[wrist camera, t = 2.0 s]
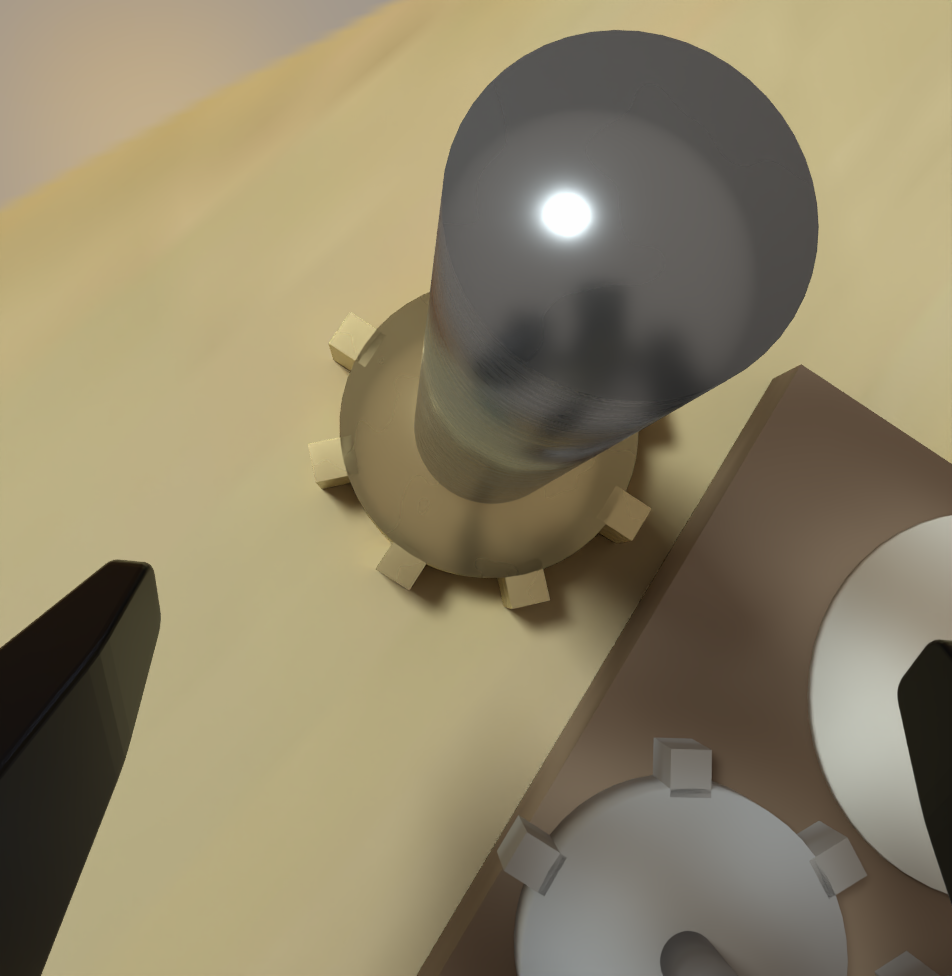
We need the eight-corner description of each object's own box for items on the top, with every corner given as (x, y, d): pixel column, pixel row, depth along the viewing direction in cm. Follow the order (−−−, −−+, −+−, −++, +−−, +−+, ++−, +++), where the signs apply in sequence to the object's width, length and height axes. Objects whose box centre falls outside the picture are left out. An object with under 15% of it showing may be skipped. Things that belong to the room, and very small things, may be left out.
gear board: (997, 1389, 19) (1209, 1677, 14) (384, 1004, 19) (379, 1162, 14) (1299, 726, 22) (1571, 773, 17) (763, 372, 21) (877, 310, 16)
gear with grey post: (536, 671, 20) (789, 852, 7) (247, 485, 20) (-31, 326, 7) (706, 392, 21) (1189, 114, 8) (435, 212, 21) (497, -356, 8)
